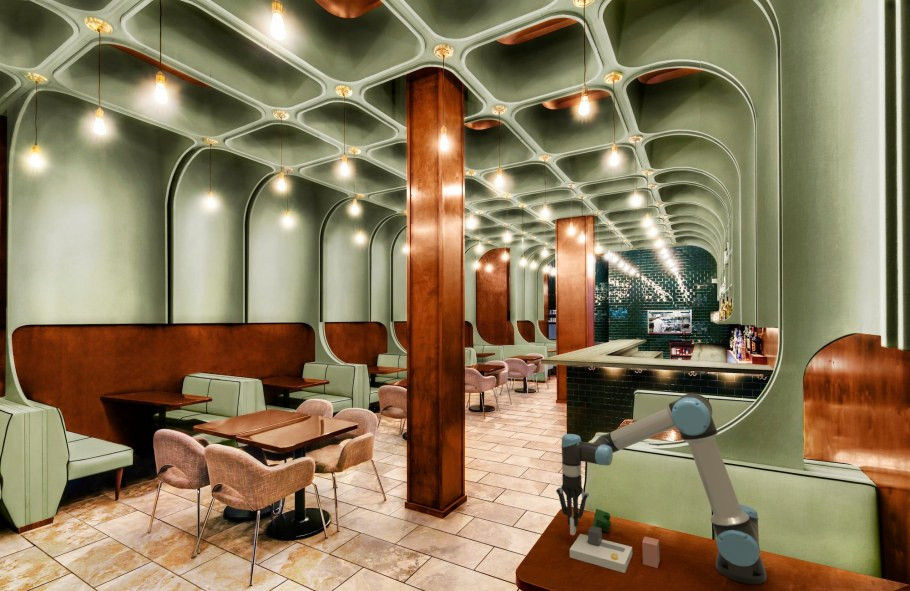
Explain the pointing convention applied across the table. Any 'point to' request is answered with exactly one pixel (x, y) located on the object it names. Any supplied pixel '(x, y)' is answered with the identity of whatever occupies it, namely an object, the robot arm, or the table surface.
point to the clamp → (602, 520)
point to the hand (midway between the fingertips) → (573, 533)
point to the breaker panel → (602, 553)
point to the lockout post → (651, 552)
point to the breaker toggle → (595, 535)
